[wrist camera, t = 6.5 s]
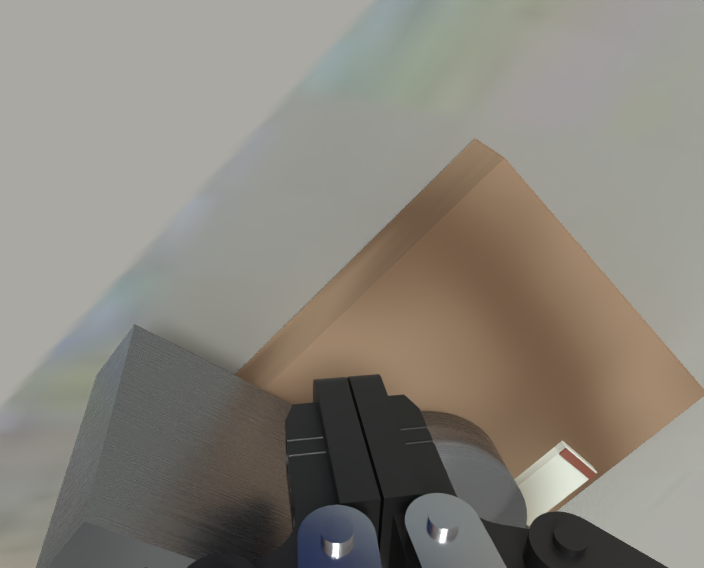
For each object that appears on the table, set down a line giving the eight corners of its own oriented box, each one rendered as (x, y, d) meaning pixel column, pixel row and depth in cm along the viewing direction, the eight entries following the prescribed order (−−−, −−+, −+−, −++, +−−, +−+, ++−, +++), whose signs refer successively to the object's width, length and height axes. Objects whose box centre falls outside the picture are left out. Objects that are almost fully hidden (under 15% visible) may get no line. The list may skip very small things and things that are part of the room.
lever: (455, 597, 22) (526, 790, 17) (51, 436, 16) (-36, 671, 10) (579, 485, 21) (700, 661, 15) (186, 253, 14) (163, 421, 9)
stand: (268, 683, 26) (271, 743, 24) (14, 592, 21) (-9, 659, 19) (668, 359, 22) (714, 399, 20) (475, 138, 17) (510, 161, 14)
